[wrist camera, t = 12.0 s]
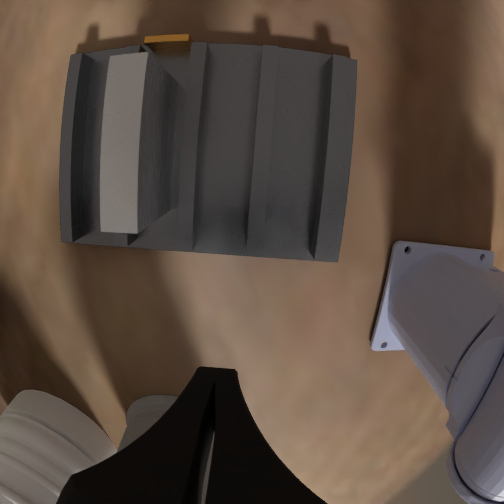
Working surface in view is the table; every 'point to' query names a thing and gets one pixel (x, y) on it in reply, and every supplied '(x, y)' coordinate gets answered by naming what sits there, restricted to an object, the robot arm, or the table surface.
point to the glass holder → (148, 414)
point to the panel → (137, 143)
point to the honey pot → (45, 447)
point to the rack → (226, 150)
